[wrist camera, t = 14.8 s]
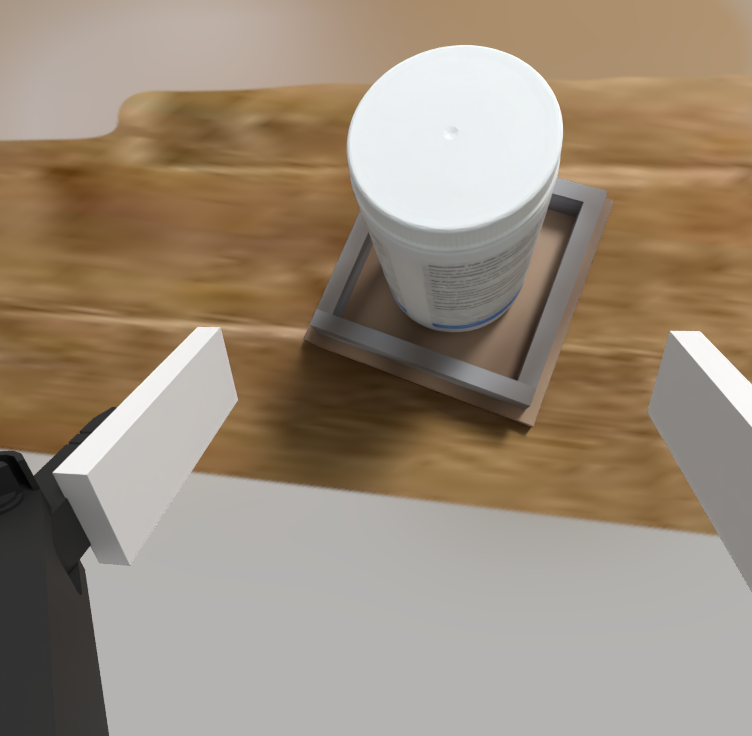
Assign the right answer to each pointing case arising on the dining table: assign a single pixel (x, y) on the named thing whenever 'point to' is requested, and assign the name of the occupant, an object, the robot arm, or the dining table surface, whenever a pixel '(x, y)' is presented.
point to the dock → (480, 346)
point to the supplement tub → (455, 180)
